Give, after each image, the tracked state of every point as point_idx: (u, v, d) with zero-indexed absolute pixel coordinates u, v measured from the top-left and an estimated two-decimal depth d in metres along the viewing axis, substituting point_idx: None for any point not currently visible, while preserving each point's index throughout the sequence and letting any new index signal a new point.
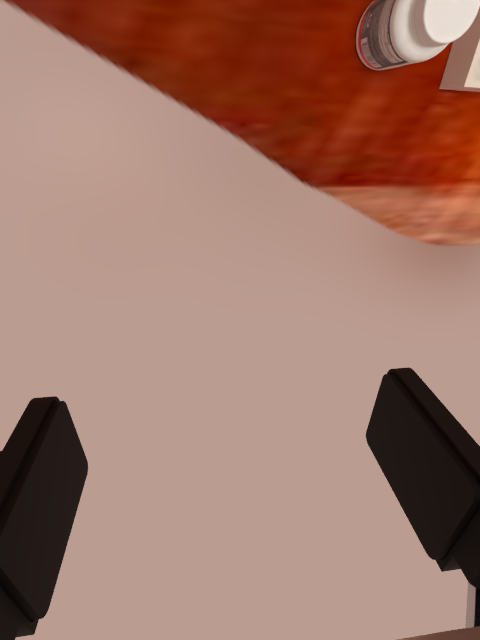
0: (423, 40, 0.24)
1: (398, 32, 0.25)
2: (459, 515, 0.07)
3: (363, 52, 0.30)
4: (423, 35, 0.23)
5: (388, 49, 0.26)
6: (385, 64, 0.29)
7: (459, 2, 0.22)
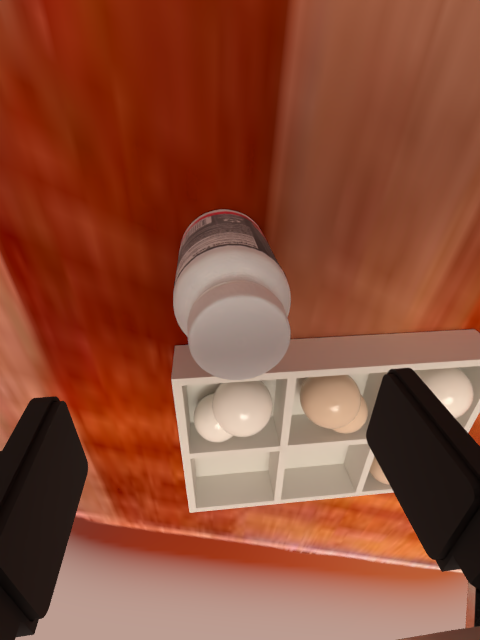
0: (192, 311, 0.13)
1: (205, 264, 0.14)
2: (459, 515, 0.07)
3: (195, 224, 0.18)
4: (198, 309, 0.12)
5: (188, 257, 0.15)
6: (178, 262, 0.17)
7: (244, 350, 0.13)
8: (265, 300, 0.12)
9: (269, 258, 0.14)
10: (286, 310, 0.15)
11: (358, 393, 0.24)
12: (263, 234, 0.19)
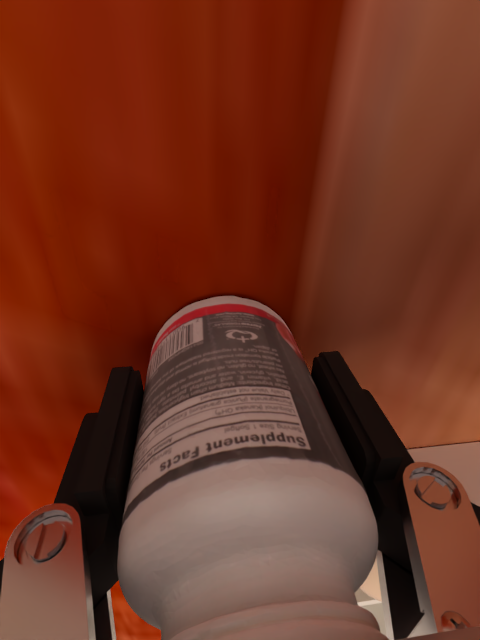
0: None
1: (188, 530, 0.05)
2: None
3: (173, 332, 0.10)
4: None
5: (151, 459, 0.07)
6: (140, 415, 0.09)
7: None
8: None
9: (339, 479, 0.06)
10: None
11: None
12: (294, 340, 0.11)
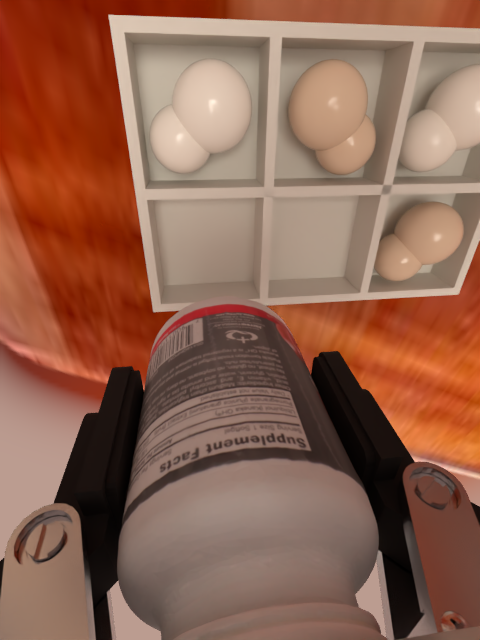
0: None
1: (189, 531, 0.05)
2: None
3: (173, 332, 0.10)
4: None
5: (152, 460, 0.07)
6: (140, 416, 0.09)
7: None
8: None
9: (339, 481, 0.06)
10: (370, 572, 0.07)
11: (364, 81, 0.18)
12: (294, 341, 0.11)
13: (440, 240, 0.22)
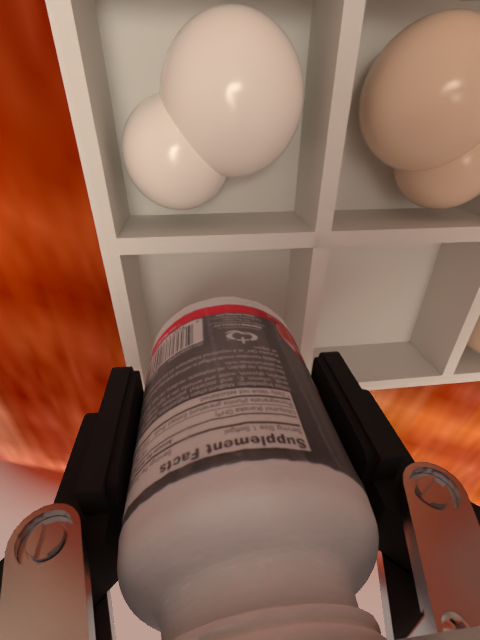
0: None
1: (189, 532, 0.05)
2: None
3: (173, 332, 0.10)
4: None
5: (152, 460, 0.07)
6: (140, 416, 0.09)
7: None
8: None
9: (339, 481, 0.06)
10: (370, 573, 0.07)
11: None
12: (294, 341, 0.11)
13: None
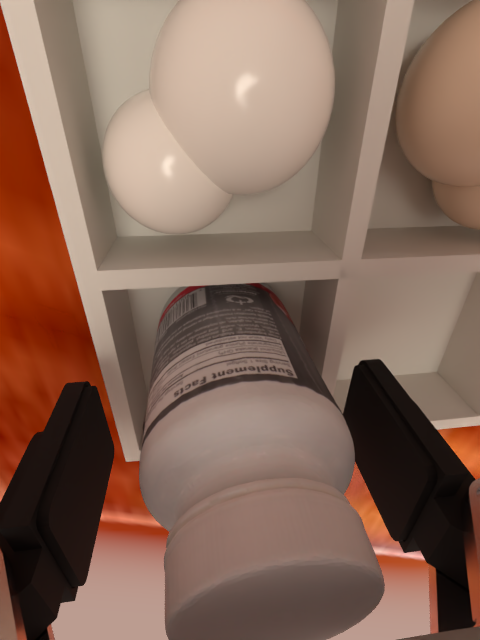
0: (173, 556, 0.06)
1: (200, 432, 0.07)
2: (416, 497, 0.07)
3: (179, 300, 0.12)
4: (184, 568, 0.05)
5: (166, 391, 0.08)
6: (152, 370, 0.11)
7: (287, 627, 0.06)
8: (342, 559, 0.05)
9: (320, 400, 0.08)
10: (348, 483, 0.08)
11: None
12: (285, 309, 0.12)
13: None
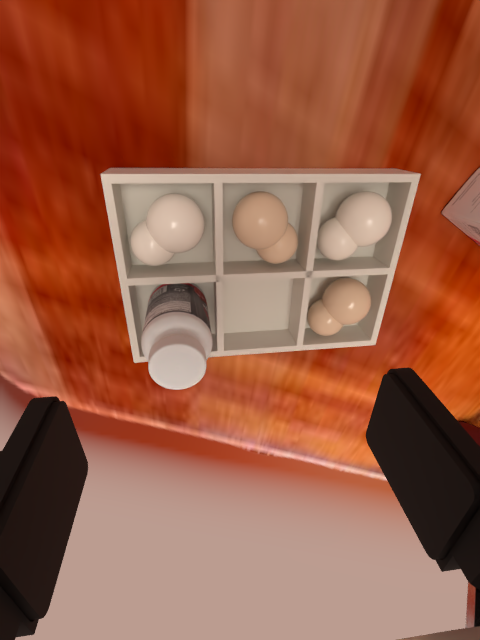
0: (150, 351, 0.23)
1: (158, 324, 0.24)
2: (459, 515, 0.07)
3: (157, 290, 0.29)
4: (153, 350, 0.23)
5: (150, 317, 0.25)
6: None
7: (180, 372, 0.23)
8: (189, 346, 0.22)
9: (196, 318, 0.25)
10: (209, 347, 0.25)
11: (284, 207, 0.25)
12: (202, 294, 0.30)
13: (351, 310, 0.29)
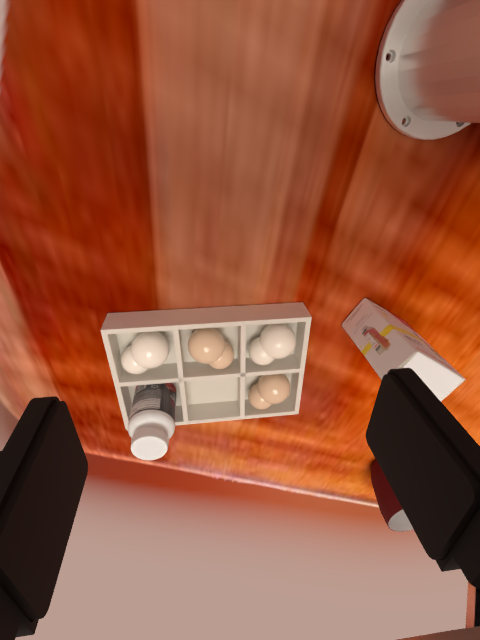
0: (132, 438, 0.37)
1: (138, 419, 0.38)
2: (459, 515, 0.07)
3: None
4: (133, 439, 0.36)
5: (133, 411, 0.39)
6: (132, 404, 0.41)
7: (151, 451, 0.37)
8: (155, 437, 0.36)
9: (163, 413, 0.38)
10: (171, 430, 0.39)
11: (220, 340, 0.39)
12: (171, 385, 0.43)
13: (273, 397, 0.43)
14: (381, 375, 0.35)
